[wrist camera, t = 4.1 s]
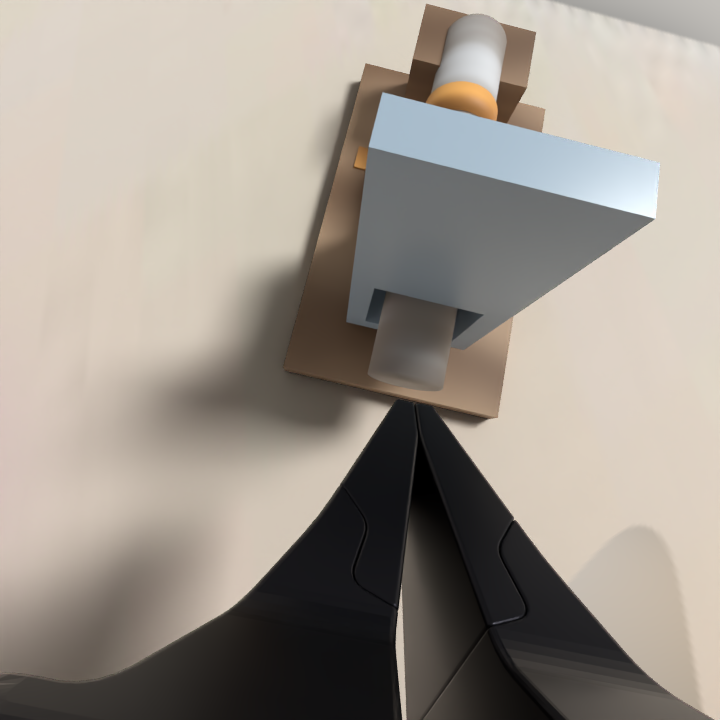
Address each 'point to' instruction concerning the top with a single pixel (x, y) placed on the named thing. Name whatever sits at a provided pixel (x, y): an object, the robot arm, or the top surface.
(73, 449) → the top surface
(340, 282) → the pipe stand
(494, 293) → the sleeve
